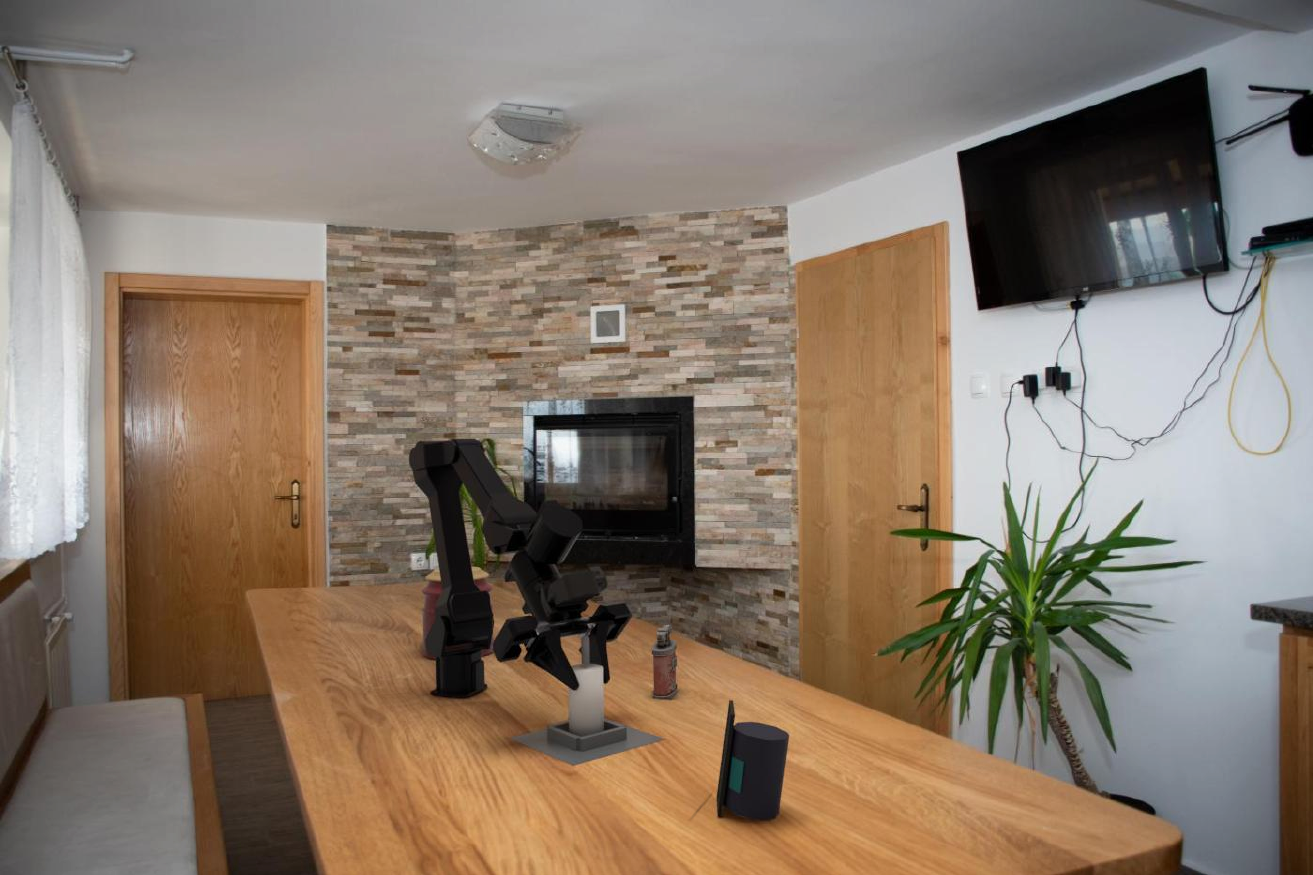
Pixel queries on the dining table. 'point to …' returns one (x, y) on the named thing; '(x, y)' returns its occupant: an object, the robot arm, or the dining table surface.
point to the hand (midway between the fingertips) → (592, 685)
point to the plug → (586, 696)
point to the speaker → (751, 768)
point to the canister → (432, 595)
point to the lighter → (664, 665)
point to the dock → (585, 741)
